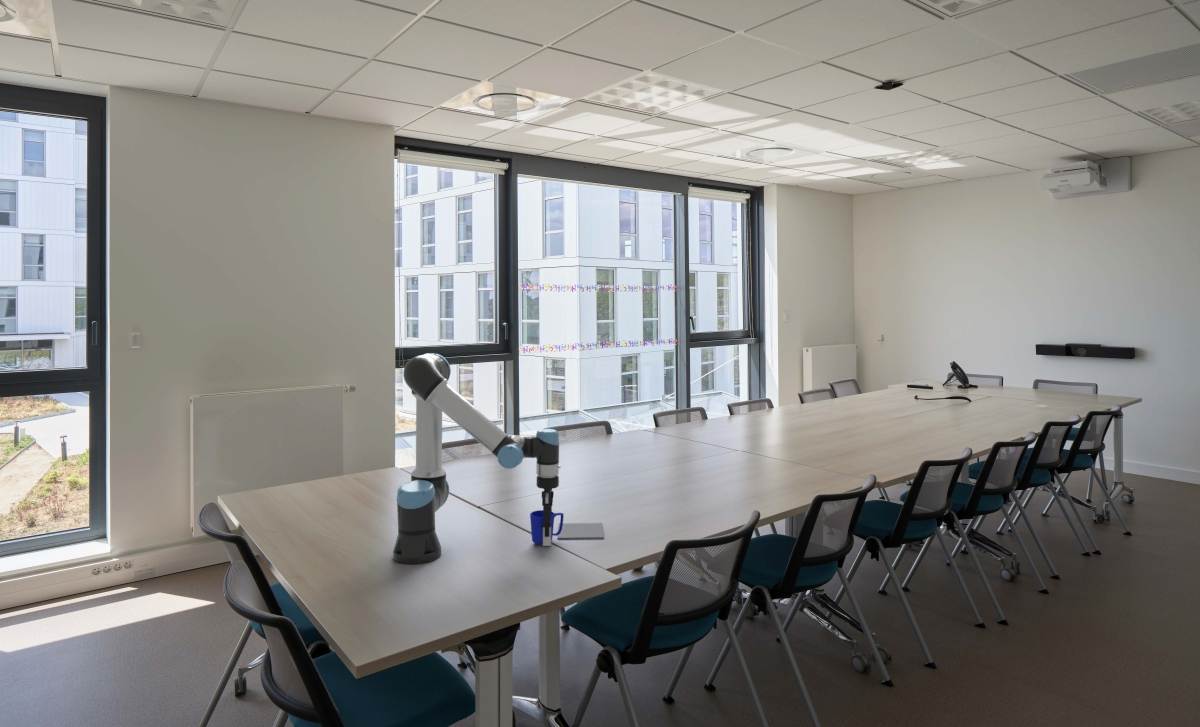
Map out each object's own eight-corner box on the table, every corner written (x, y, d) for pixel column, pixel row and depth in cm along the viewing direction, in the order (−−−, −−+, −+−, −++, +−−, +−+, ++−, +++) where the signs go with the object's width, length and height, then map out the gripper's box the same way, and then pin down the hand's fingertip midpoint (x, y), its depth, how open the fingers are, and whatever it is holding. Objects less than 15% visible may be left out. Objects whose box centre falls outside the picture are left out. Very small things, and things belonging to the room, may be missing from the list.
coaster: (557, 539, 242) (557, 537, 242) (558, 525, 258) (558, 523, 258) (603, 538, 243) (603, 537, 243) (601, 524, 259) (601, 522, 259)
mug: (568, 542, 238) (568, 513, 238) (536, 548, 232) (536, 518, 231) (557, 535, 245) (557, 507, 245) (526, 540, 239) (526, 512, 238)
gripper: (558, 482, 226) (557, 551, 228) (559, 468, 246) (559, 531, 248) (534, 482, 226) (534, 551, 228) (538, 468, 246) (537, 531, 248)
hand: (547, 541), depth 238 cm, fingers closed on mug, 7 cm apart
